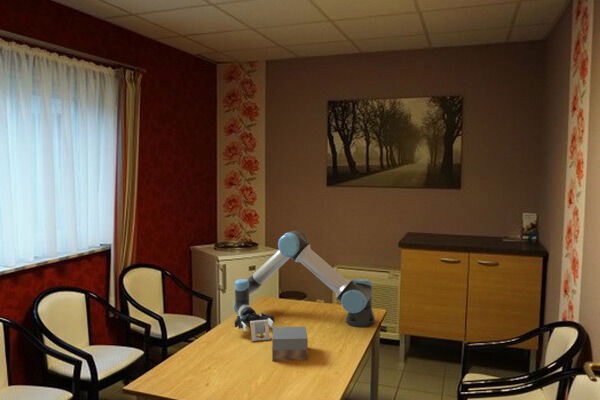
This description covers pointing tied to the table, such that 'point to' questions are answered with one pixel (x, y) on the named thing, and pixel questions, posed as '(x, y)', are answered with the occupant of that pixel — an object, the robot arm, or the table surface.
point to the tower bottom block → (289, 355)
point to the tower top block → (289, 338)
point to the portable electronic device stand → (259, 330)
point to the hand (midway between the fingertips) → (259, 326)
